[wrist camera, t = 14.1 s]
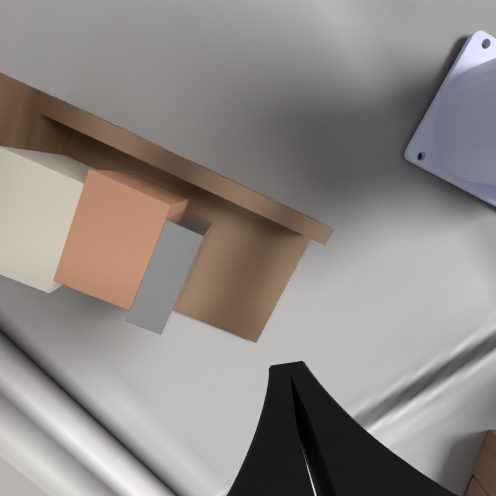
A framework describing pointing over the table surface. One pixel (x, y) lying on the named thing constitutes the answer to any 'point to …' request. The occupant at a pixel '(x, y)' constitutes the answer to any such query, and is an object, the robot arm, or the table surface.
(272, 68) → the table surface
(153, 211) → the salmon orange block
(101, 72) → the table surface
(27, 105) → the wooden shelf
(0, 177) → the cream book
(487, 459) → the bookends
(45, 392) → the table surface
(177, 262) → the grey rectangular block
